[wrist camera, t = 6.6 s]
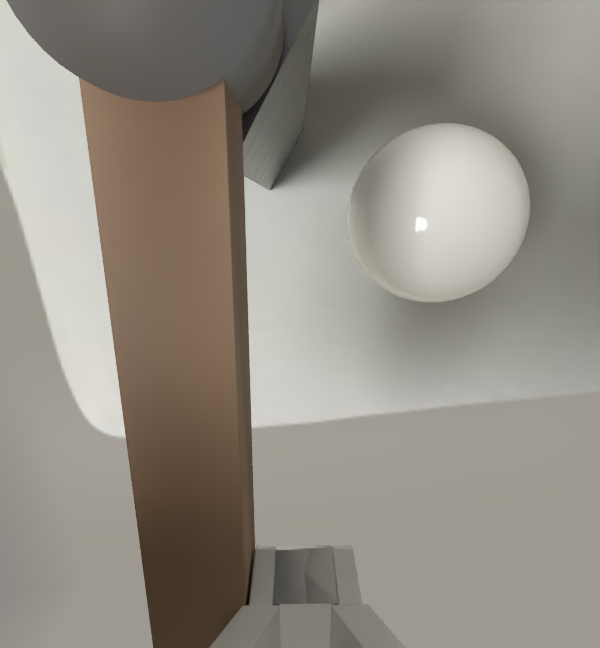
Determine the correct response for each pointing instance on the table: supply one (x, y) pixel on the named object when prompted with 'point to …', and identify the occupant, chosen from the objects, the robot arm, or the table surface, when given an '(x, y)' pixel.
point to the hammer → (176, 274)
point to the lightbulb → (438, 212)
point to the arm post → (281, 99)
